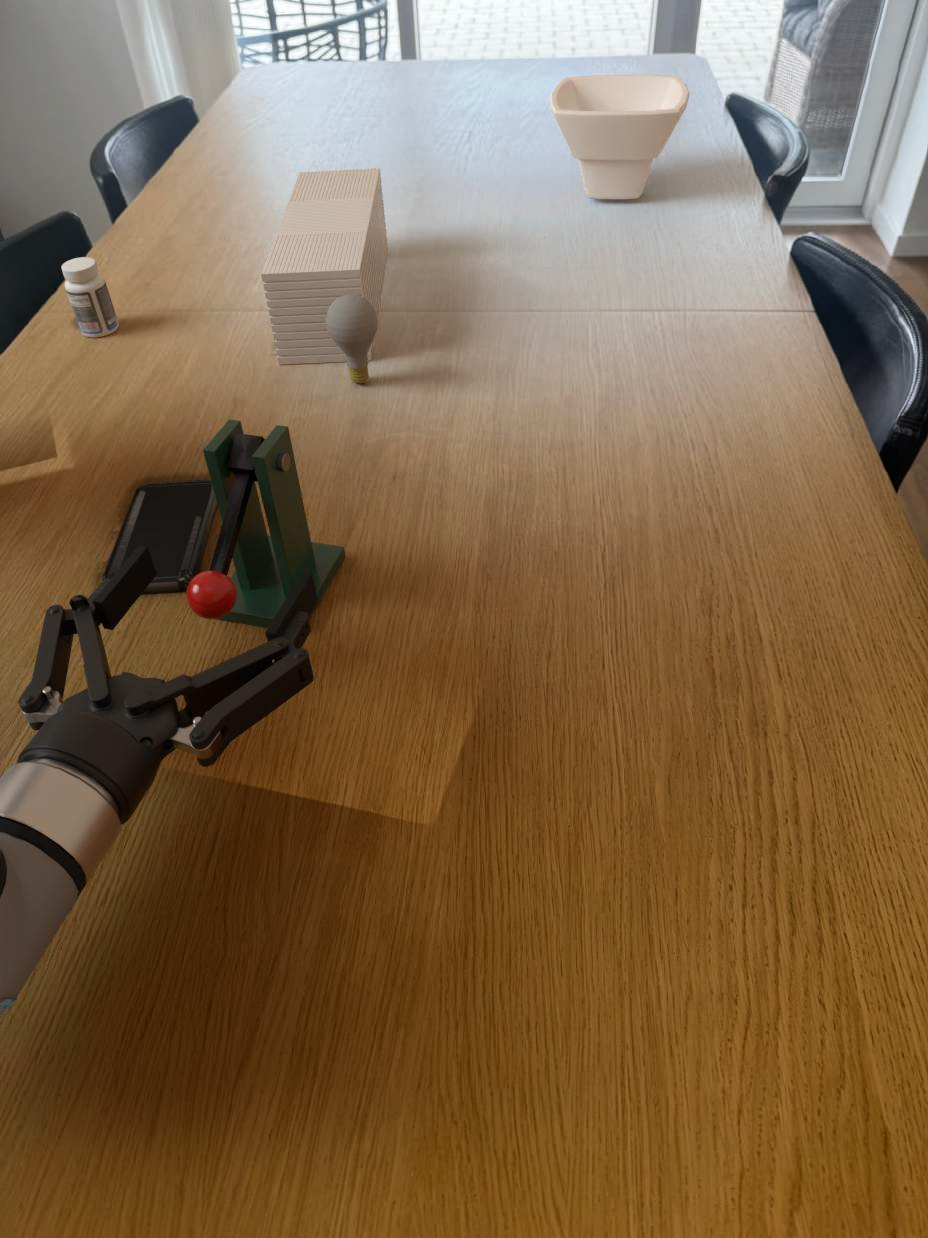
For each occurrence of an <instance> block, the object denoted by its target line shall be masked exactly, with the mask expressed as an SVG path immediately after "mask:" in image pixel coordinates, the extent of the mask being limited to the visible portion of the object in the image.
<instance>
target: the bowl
mask: <svg viewBox="0 0 928 1238" xmlns="http://www.w3.org/2000/svg"><path fill="white" fill-rule="evenodd" d="M690 95H691V93H690V91H689V88H688V85H687V83H686V82H685V81H684V80H683V79H682V78H681V77H680V76H679V75H672V74H670V75H669V74H656V73H655V74H653V73H652V74H592V75H591V74H589V75H578V76H576V75H575V76H566V77H565V78H563V79H562V80H561V81H559V82H558V83H557V84H556V85H555V87H554V88H553V90H552V92H551V93H550V96H549V97H550V98H549V99H550V100H549V107H550V111H551V114H552V115H553V117H554V120H555V122H556V124H557V126H558V128H559V131H560V133H561V135H562V137H563V139H564V142H565V143H566V145H567V148H568V149H569V153H570V154H571V156H572V158H573V159H577V161H578V165H579V171H580V174H581V179H582V185H583V189H584V193H585V195H586V197H587V198H588V199H595V200H633V199H635V200H636V199H639V198H640V197H641V196H642V194H643V192H644V189H645V186H646V184H647V180H648V177H649V174H650V170H651V168H652V164H653V162H654V159H657V158H658V157H659V156H660V154H661V153H662V152H663V150H664V148H665V146H666V144H667V143H668V141H669V140H670V137H671V136H672V134H673V132H674V130H675V129H676V127H677V125H678V123H679V121H680V119H681V118H682V116H683V114H684V113H685V111H686V109H687V107H688V103H689V100H690Z"/></svg>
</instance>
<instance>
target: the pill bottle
mask: <svg viewBox="0 0 928 1238" xmlns="http://www.w3.org/2000/svg"><path fill="white" fill-rule="evenodd" d="M61 271H62V275H63V278H64V280H65V282H64V290H65V292H66V296H67V298H68V301H69V304H70V307H71V309H72V312H73V315H74V319H75V321H76V324H77V326H78V330H79V332H80V334H81V335H82V336H84V337H87V338H91V339H92V338H93V339H95V338H102V337H106V336H109V335H111V334H113V333H115V332H116V331H117V330H118V328H119V327H120V323H119V319H118V316H117V314H116V310H115V307H114V304H113V301H112V297H111V295H110V292H109V289H108V285H107V281H106V279H105V277H104V276H103V275H102V274H101V273H100V271H99V267H98V265H97V262H96V259H94V258H93V257H88V256H81V257H75V258H72V259H69V260H66V261H65V262H63V263H62V264H61Z"/></svg>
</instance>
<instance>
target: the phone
mask: <svg viewBox="0 0 928 1238" xmlns="http://www.w3.org/2000/svg"><path fill="white" fill-rule="evenodd" d="M217 506H218V504H217V501H216V497H215V493H214V490H213V486H212V482H211V479H192V480H176V481H175V480H174V481H173V480H172V481H156V482H146V483H143V484H141V485H139V486H138V487H136V489H135V491H134V493H133V496H132V498H131V501H130V504H129V507H128V509H127V512H126V513H125V517H124V519H123V522H122V524H121V526H120V529H119V532H118V535H117V537H116V540H115V543H114V544H113V547H112V550H111V552H110V556H109V558H108V560H107V563H106V566H105V568H104V571H103V574H102V576H101V582H103V581H104V580H106V579H112V577H113V576H114V575H115V574H116V573H117V571H118V570H119V569H120V568H121V567H122V565H123V564H124V563H125V562H126V561H127V560H128V558H129V557H130V556H131V555H132V554H133V552H134V551H135V550H136V549H137V548H138V546H144V547H148V550H149V552H150V555H151V558H152V561H153V564H154V567H155V570H156V573H157V575H156V576H155V577H154V579H153V580H152V581H151V582H150V584H149V585H148V586H147V588H146V589H145V590H144V591H143V593H142V594H151V593H152V594H153V593H156V594H157V593H172V592H174V593H175V592H183V591H187V587H188V585H189V583H190V581H191V580H192V579H193V578H194V577H195V576H196V575H197V574H199V571H200V567H201V563H202V560H203V555H204V552H205V548H206V545H207V542H208V538H209V533H210V530H211V528H212V527H211V526H212V523H213V520H214V517H215V512H216V509H217Z"/></svg>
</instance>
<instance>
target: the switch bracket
mask: <svg viewBox="0 0 928 1238" xmlns="http://www.w3.org/2000/svg"><path fill="white" fill-rule="evenodd" d="M243 429H244V428H243V425H242V422H241V420H239V419H230V418H229V419H228V420H227V421H226V422H225V423H224V425H223V426H222V427H221V428H220V429H219V431H218V432H216V434H215V435H214V436H213V437H212V439H210V441H209V442H208V443H207V444H206V446H205V447H204V448H203V449H202V453H203V457H204V460H205V464H206V468H207V471H208V475H209V480H211V482H212V486H213V490H214V493H215V497H216V501H217V508H218V511H219V515H220V518H221V523H222V522H223V518H224V515H225V511H226V508H227V504H228V501H229V497H230V494H231V491H232V487H233V484H234V480H235V477H236V476H235V475H234V474H233V473H232V472H231V471H230V470H229V469H228V468H227V463H228V460H229V456H230V453H231V449H232V446H233V442H234V439H235V436H236V433H239V434H245V432H244V430H243ZM289 429H290V428H289V426H288V425H279V424H276V425H275V426H274V427H273V428H272V430H271V431H270V432H269V434H268V435H267V436H266V437H265V438H264V439H265V440H264V441H263V443H262V444H261V445H260V447H259V448H258V449H257V450H256V452H255V453H254V454H253V455H252V460H253V464H254V468H255V473H256V477H257V481H258V482H257V484H256V482H255V481H254V483H253V486H252V490H251V493H250V497H249V500H248V504H247V508H246V511H245V515H244V518H243V522H242V525H241V529H240V532H239V536H238V539H237V543H236V546H235V550H234V553H233V557H232V562H233V566H234V569H235V570H234V571H233V573H232V575H231V576H230V577H229V578H230V579H231V580H232V581H233V583H234V585H235V587H236V591H237V598H236V603H235V605H234V607H233V609H232V610H231V611H230V612H229V613H228V614H227V615H225V616H223V617H221V618H218V619H217V620H221V621H228V622H232V623H233V622H234V623H238V624H245V625H250V626H255V627H262V628H266V629H267V628H268V627H269V625H270V624H271V622H272V620H273V619H274V617H275V616H276V614H277V612H278V611H279V609H280V608H281V606H282V604H283V603H284V601H285V600H286V598H287V596H288V595H289V593H290V592H291V590H292V588H293V587H294V585H295V584H296V582H297V580H298V579H299V577H300V576H301V574H302V572H307V573H312V574H313V579H314V584H315V589H316V594H317V599H318V602H317V603H316V605H315V607H314V609H313V610H312V612H311V614H310V615H309V619H310V618H311V617H312V615H313V613H314V612H315V610H316V608H317V607H318V606H319V604H320V601H321V600H322V598H323V596H324V595H325V593H326V591H327V590H328V588H329V586H330V585H331V583H332V581H333V579H334V578H335V576H336V575H337V573H338V571H339V569H340V568H341V566H342V564H343V562H344V561H345V559H346V556H347V555H346V551H345V546H341V545H334V544H328V543H322V542H321V543H320V542H314V541H312V540H311V539H312V538H311V533H310V529H309V523H308V518H307V514H306V509H305V503H304V500H303V494H302V488H301V483H300V479H299V474H298V469H297V464H296V458H295V454H294V449H293V444H292V439H291V434H290V430H289ZM256 485H258V489H259V492H258V489H257V486H256ZM259 494H260V496H259ZM259 497H260V498H261V502H260V498H259ZM261 503H262V506H261ZM262 507H263V509H262ZM263 510H264V514H263ZM264 515H265V518H264ZM265 519H266V522H265ZM266 524H267V526H266ZM266 527H268V530H267V528H266ZM268 531H269V535H268Z"/></svg>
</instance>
